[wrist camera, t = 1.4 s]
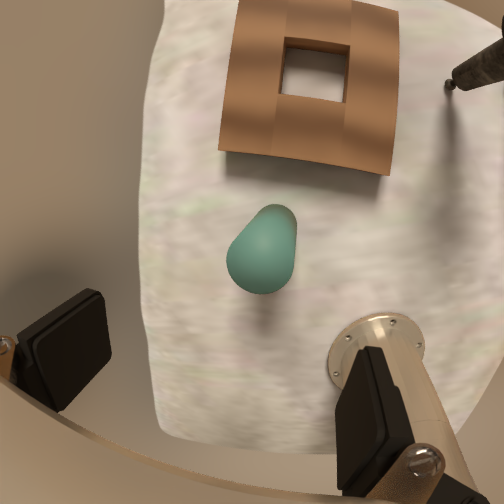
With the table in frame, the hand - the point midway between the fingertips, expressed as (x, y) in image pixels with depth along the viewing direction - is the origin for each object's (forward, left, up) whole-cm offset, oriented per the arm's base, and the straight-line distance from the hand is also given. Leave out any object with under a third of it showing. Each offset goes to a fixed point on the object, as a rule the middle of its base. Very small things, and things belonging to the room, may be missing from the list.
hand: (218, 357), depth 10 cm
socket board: (+16, -2, -22) cm, 27 cm away
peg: (0, 0, -22) cm, 22 cm away
